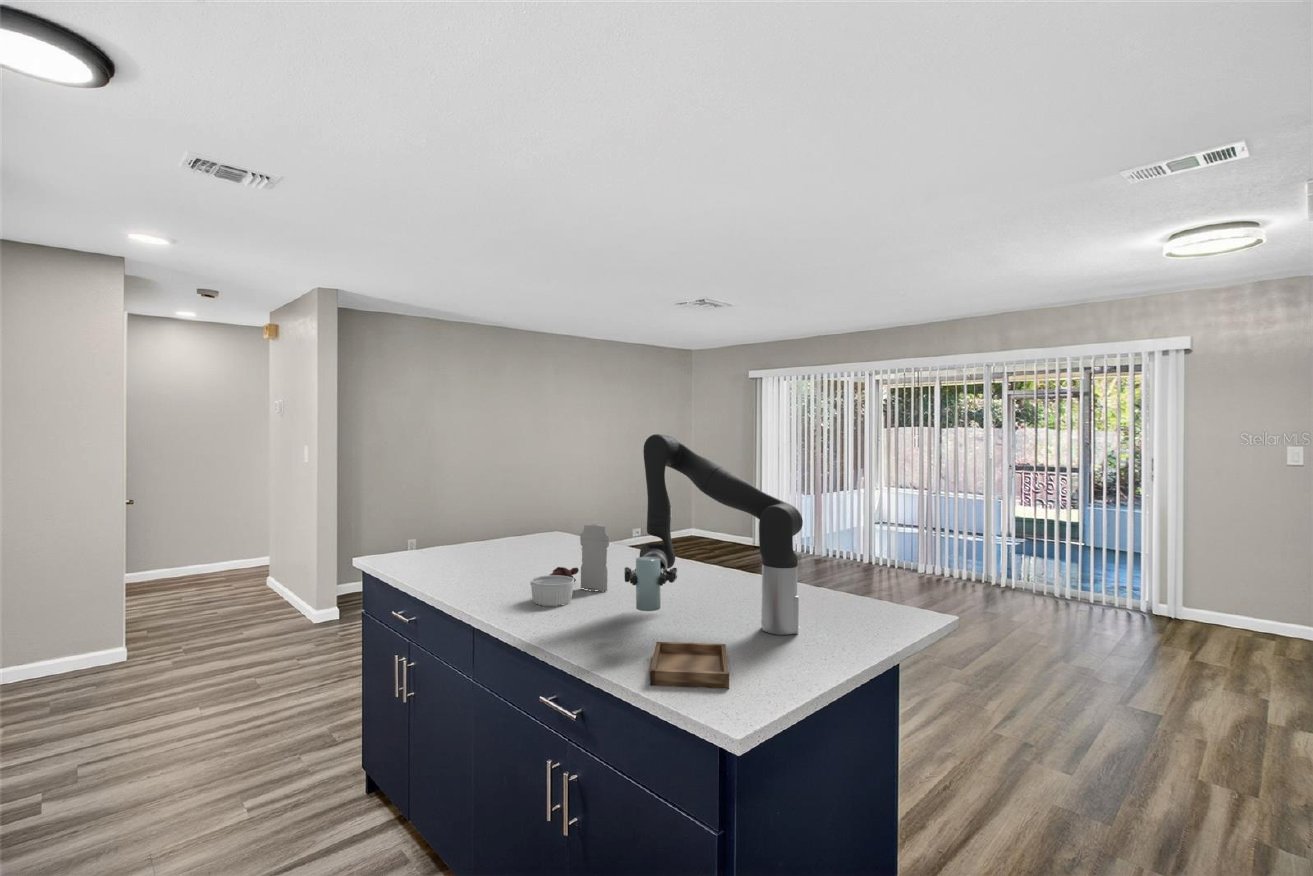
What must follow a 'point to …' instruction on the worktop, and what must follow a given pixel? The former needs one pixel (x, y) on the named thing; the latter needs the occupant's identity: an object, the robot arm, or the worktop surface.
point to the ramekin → (552, 590)
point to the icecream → (565, 572)
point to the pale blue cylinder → (648, 584)
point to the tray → (690, 665)
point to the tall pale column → (594, 557)
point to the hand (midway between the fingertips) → (647, 581)
